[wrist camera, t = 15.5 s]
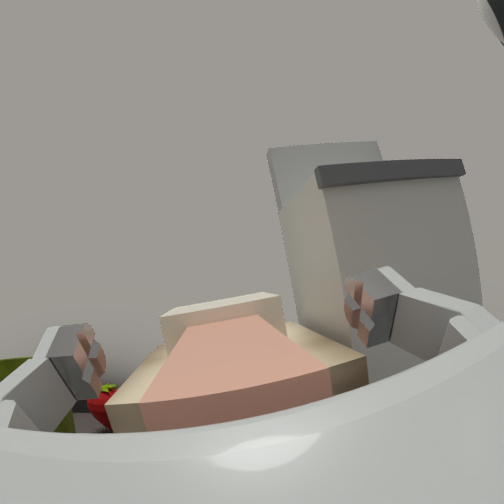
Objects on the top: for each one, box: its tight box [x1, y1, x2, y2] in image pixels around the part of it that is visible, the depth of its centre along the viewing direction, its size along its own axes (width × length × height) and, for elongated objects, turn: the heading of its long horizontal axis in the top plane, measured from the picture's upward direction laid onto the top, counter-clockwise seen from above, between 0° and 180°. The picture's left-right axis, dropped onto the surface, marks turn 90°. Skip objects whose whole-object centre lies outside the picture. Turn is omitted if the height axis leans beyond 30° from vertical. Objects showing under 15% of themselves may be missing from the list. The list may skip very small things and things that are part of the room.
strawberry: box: [87, 383, 117, 431], centre depth 38 cm, size 6×8×10 cm
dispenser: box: [267, 141, 483, 384], centre depth 23 cm, size 12×13×32 cm
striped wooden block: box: [104, 321, 369, 433], centre depth 18 cm, size 12×14×16 cm
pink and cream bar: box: [139, 292, 333, 432], centre depth 15 cm, size 7×18×3 cm, turn 6°
